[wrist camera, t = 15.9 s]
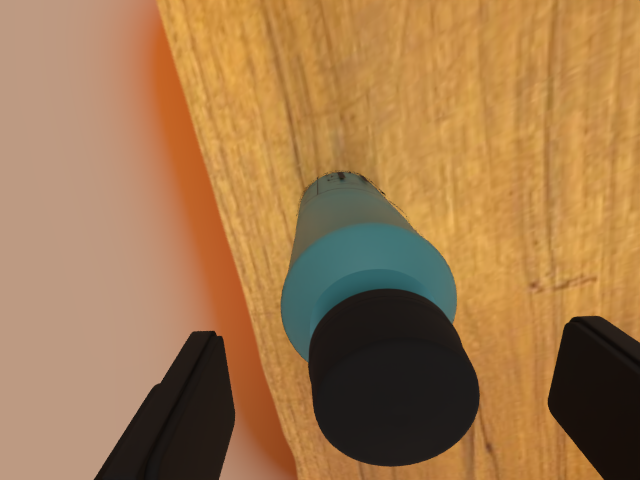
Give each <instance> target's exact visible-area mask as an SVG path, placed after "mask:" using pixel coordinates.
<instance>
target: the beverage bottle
mask: <svg viewBox="0 0 640 480" xmlns="http://www.w3.org/2000/svg"><path fill="white" fill-rule="evenodd" d="M337 171H339V170H337ZM337 171H335V172H336V173H332V171H331V172H330V173H331V174H328V173H327V175H325V176H323V177H321V178H319V179H318V177H317V180H316V181H314V183H313V184H312V185H311V186H310V187H309V188H308V189H307V190H306V189H305V191H306V192H304V195H303V198H302V199H301V198H300V199H301V201H299V202H301V203H300V208H299V212H298V211H297V212H298V213H299V214H298V220H297V226H296V234H295V239H294V244H293V249H292V254H291V259H290V264H289V270H288V274H287V276H286V279H285V282H284V286H283V290H282V296H281V316H282V322H283V326H284V329H285V332H286V334H287V336H288V338H289V340H290V342H291V343H292V345H293V346H294V348H295V350H296V351H297V352H298V353H299V354H300V355H301V357H302V358H304V359H305V360H306V361H307V362H308V368H309V376H310V381H311V384H312V397H313V407H314V413H315V417H316V420H317V422H318V425H319V427H320V429H321V431H322V433H323V434H324V436H325V437H326V439H327V440H328V441H329V442H330V443H331V444H332V445H333V446H334V447H335V448H337V449H338V450H339V451H340V452H342V453H344V454H345V455H347V456H349V457H351V458H353V459H355V460H358V461H360V462H363V463H367V464H371V465H378V466H390V467H392V466H404V465H411V464H415V463H419V462H422V461H425V460H428V459H431V458H433V457H435V456H438V455H439V454H441V453H443V452H445V451H446V450H448V449H449V448H451V447H452V446H453V445H455V444H456V443H457V442H458V441H459V440H460V439H461V438H462V437H463V436H464V435H465V434H466V432H467V431H468V430H469V428H470V427H471V425H472V423H473V421H474V419H475V417H476V414H477V411H478V406H479V397H480V393H479V385H478V379H477V375H476V372H475V370H474V368H473V366H472V364H471V362H470V360H469V358H468V356H467V354H466V352H465V350H464V349H463V347H462V343H461V340H460V338H459V335H458V333H457V331H456V329H455V328H454V326H453V325H452V324H453V321H454V318H455V313H456V306H457V294H456V286H455V282H454V277H453V275H452V272H451V270H450V268H449V266H448V264H447V262H446V261H445V259H444V258H443V256H442V255H441V254H440V253H439V251H438V250H437V249H436V248H435V247H434V246H433V245H432V244H431V243H430V242H429V241H427V240H426V239H424V238H423V237H422V236H420V235H419V234H418V233H417V232H416V231H415V230H416V229H415V230H414V229H413V228H412V226H411V225H410V223H408V222H407V220H406V219H405V218H404V217H403V216H402V215H401V214H400V213H399V212H398V211H397V210H396V209H395V208H394V207H393V206H392V205H391V204H390V203H389V202H388V201H387V199H385V197H383V196H384V195H383V196H382V195H381V194H380V192H379V191H378V190H377V188H375V187H374V186H373V185H372V184H371V183H370V182H369V181H368V180H367V179H366V178H365V177H363V176H361V175H360V176H358V175H356V174H355V172H354V174H353V173H351V172H348V171H347V172H337ZM345 171H346V170H345ZM357 174H358V173H357ZM314 180H315V179H314ZM369 180H370V179H369ZM371 182H372V181H371ZM372 183H373V182H372ZM376 187H377V186H376ZM382 193H383V192H382ZM383 194H384V193H383ZM388 199H389V198H388ZM391 203H392V202H391ZM392 204H393V203H392ZM394 205H395V204H394ZM298 207H299V206H298ZM396 207H397V206H396ZM400 210H401V209H400ZM401 211H402V210H401ZM403 213H404V212H403ZM296 216H297V215H296Z"/></svg>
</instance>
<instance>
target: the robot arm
mask: <svg viewBox="0 0 640 480" xmlns="http://www.w3.org/2000/svg"><path fill="white" fill-rule="evenodd" d="M548 407H549V410H550V412H551V414H552V415H553V417H554V418H555V419H556V421H557V422H558V423H559V424H560V425H561V427H562V428H563V429H564V430H565V432H566V433H567V434H568V435H569V437H570V438H571V439H572V440H573V442H574V443H575V444H576V445H577V447H578V448H579V449H580V450H581V452H582V453H583V454H584V455H585V457H586V458H587V459H588V460H589V462H590V463H591V464H592V465H593V466H594V468H595V469H596V470H597V471H598V473H599V474H600V475H601V476H602V478H603V479H604V480H640V343H639V342H638V341H636V340H635V339H633V338H632V337H630V336H629V335H627V334H626V333H624V332H623V331H621V330H620V329H619V328H617V327H616V326H614V325H613V324H611V323H610V322H608V321H607V320H605V319H604V318H602V317H600V316H581V317H573V318H572V319H571V320H570V322H569V323H567V324H566V325H565V327H564V330H563V335H562V339H561V344H560V348H559V352H558V357H557V361H556V366H555V370H554V375H553V379H552V383H551V388H550V392H549V397H548ZM234 422H235V409H234V403H233V397H232V390H231V384H230V379H229V372H228V366H227V360H226V353H225V348H224V341H223V338H222V336H217V335H216V333H215V331H197V332H192V333H191V334H190V336H189V338H188V339H187V341H186V343H185V344H184V346H183V347H182V349H181V351H180V352H179V354H178V356H177V357H176V359H175V360H174V362H173V364H172V365H171V367H170V368H169V370H168V372H167V373H166V375H165V377H164V378H163V380H162V381H161V383H160V384H157V385H155V386H154V387H153V388H152V389H151V391H150V392H149V394H148V395H147V397H146V398H145V400H144V402H143V403H142V405H141V406H140V408H139V409H138V411H137V413H136V414H135V416H134V417H133V419H132V420H131V422H130V424H129V425H128V427H127V428H126V430H125V431H124V433H123V435H122V436H121V438H120V439H119V441H118V443H117V444H116V446H115V447H114V449H113V450H112V452H111V453H110V455H109V457H108V458H107V460H106V461H105V463H104V464H103V466H102V468H101V469H100V471H99V472H98V474H97V476H96V477H95V479H94V480H219V477H220V473H221V470H222V466H223V463H224V459H225V456H226V452H227V449H228V445H229V442H230V438H231V435H232V431H233V427H234Z"/></svg>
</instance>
